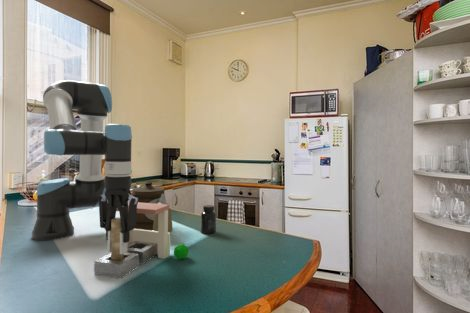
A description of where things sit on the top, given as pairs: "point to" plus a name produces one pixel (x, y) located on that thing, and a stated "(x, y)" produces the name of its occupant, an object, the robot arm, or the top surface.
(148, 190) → the wooden container
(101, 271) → the socket
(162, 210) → the pink-topped stool
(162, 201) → the squeeze bottle
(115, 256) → the peg
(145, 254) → the inner socket
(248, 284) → the top surface
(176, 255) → the polyhedron
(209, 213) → the supplement bottle
